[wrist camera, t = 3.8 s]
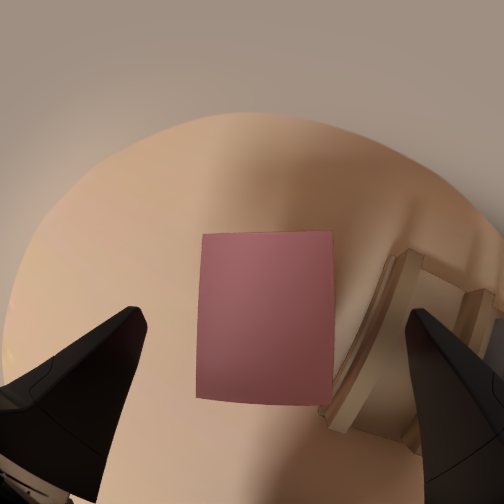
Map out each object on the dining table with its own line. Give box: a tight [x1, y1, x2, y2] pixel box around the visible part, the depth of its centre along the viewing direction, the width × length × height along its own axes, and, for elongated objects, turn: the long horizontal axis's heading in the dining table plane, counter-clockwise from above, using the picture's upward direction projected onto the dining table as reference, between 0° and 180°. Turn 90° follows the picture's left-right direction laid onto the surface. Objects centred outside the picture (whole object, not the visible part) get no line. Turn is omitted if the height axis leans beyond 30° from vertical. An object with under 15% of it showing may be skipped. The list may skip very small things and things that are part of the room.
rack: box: [318, 249, 504, 456], centre depth 10 cm, size 10×12×7 cm
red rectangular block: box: [196, 231, 335, 406], centre depth 11 cm, size 4×4×10 cm
